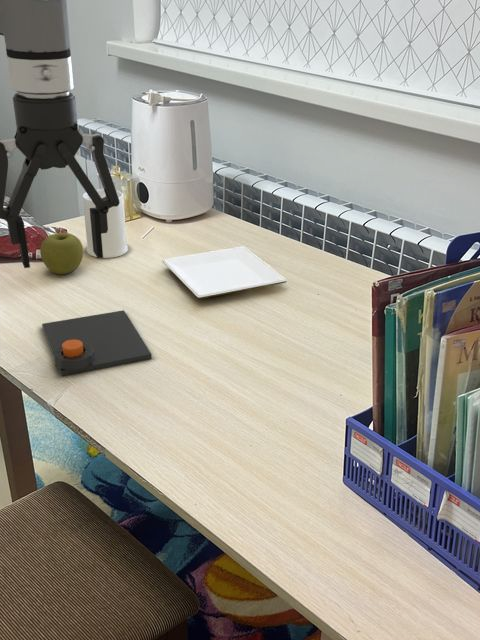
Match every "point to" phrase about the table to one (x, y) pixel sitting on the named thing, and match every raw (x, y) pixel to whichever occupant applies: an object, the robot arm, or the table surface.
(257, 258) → the plate
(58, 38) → the robot arm
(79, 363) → the scale
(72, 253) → the apple
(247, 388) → the table surface
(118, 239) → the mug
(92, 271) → the table surface
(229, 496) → the table surface
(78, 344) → the button
